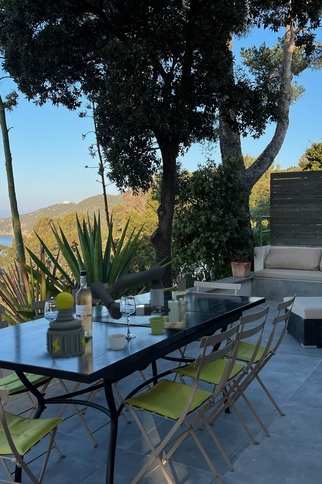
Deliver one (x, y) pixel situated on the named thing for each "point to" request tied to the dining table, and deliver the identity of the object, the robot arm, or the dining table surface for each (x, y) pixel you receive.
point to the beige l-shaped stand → (181, 317)
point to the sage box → (173, 311)
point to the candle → (116, 341)
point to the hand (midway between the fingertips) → (169, 308)
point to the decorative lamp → (65, 330)
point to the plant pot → (157, 325)
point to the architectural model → (181, 289)
